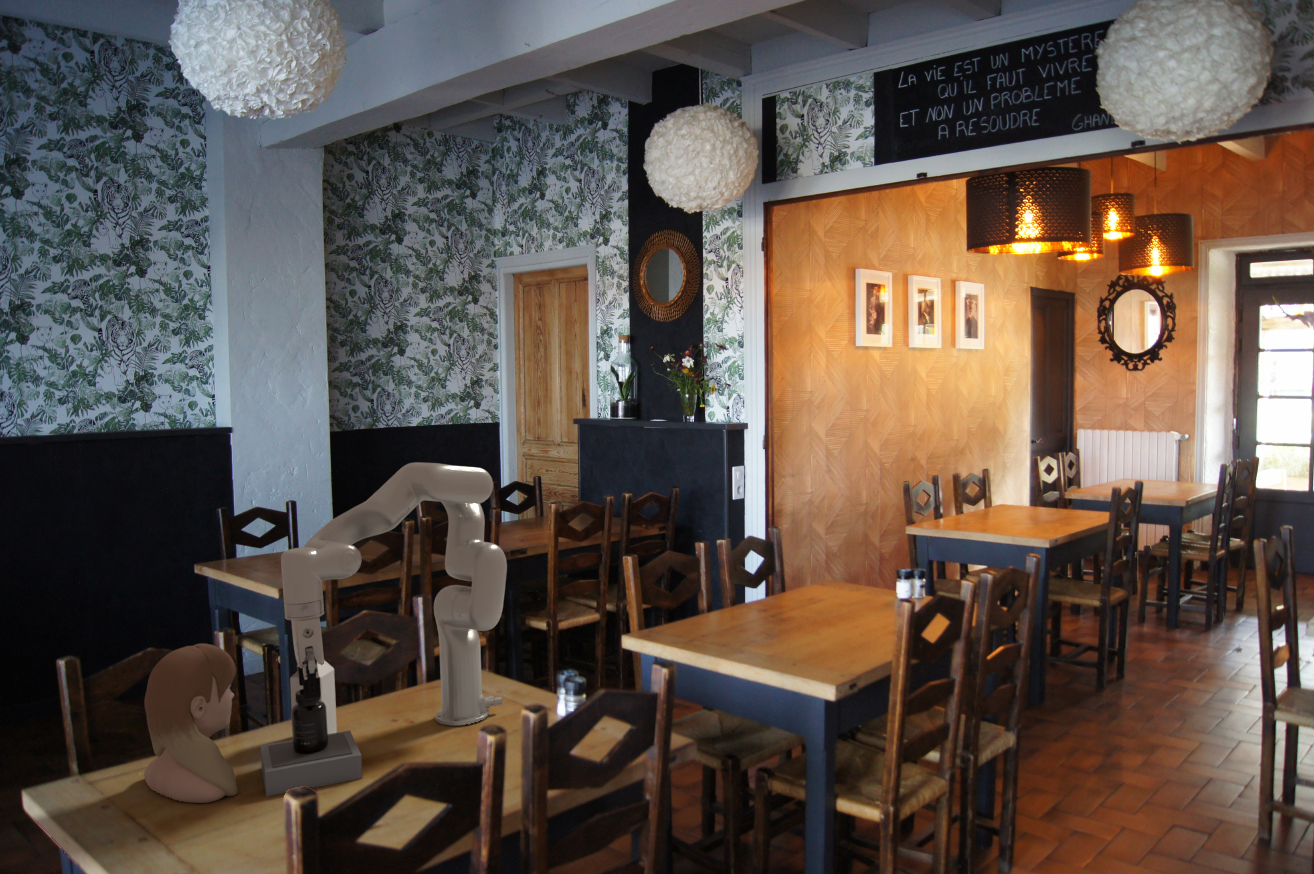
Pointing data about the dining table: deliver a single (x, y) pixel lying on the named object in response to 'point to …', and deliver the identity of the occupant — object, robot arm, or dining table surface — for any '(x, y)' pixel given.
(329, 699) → the milk carton
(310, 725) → the supplement bottle
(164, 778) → the head mannequin
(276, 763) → the display riser
